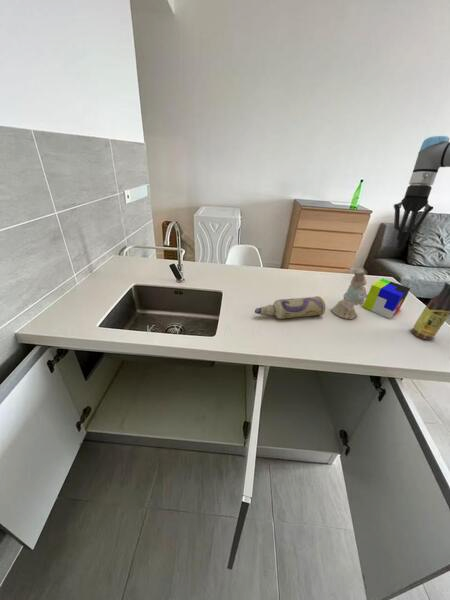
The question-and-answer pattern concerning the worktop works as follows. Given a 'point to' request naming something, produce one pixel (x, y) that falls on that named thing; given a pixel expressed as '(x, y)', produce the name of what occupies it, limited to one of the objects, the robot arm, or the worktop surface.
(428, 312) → the sauce bottle
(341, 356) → the worktop surface
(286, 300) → the decorative bottle
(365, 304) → the puzzle toy
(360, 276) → the figurine
